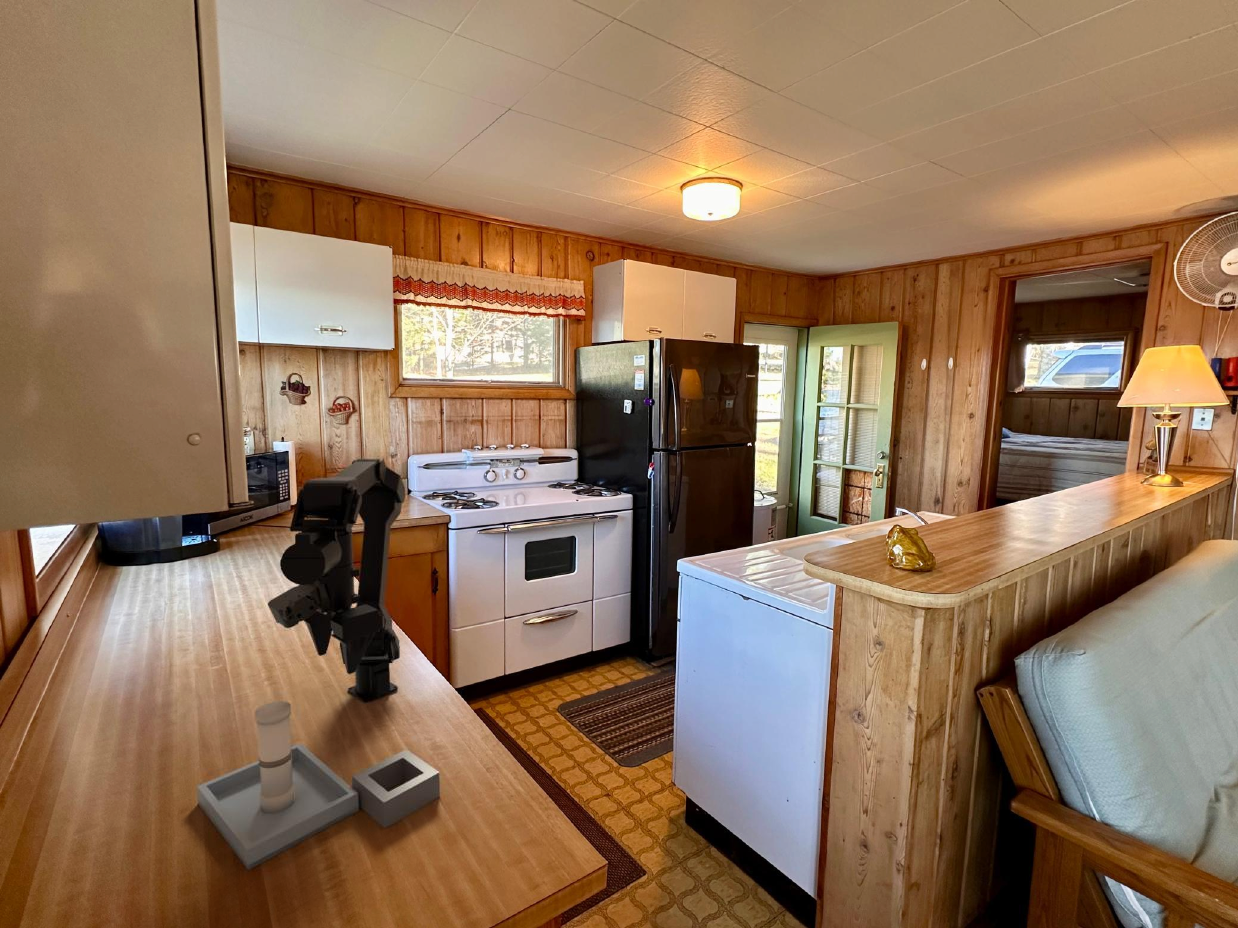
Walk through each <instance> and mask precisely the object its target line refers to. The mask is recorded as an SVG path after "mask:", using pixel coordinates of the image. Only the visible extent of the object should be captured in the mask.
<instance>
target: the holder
mask: <svg viewBox="0 0 1238 928" xmlns="http://www.w3.org/2000/svg"><path fill="white" fill-rule="evenodd" d="M440 779H441V778H440V771H438V770H437V769H436V768H434V767H433V766H431V765H430V764H428V763H427V762H425V761H424V760H423V759H421V758H420V757H419V756H417V755H415V754H414V753H412V752H411V751H410V750H409V749H405V750H402V751H400V752H397V754H394V755H392V756H390V757H388V758H386V759H383V760H381V761H380V762H378V763H376V764H374V765H371V766H369V767H368V768H366V769H364V770H361V771H359V772H357V773H355V774H353V775H351V785H352V786H351V787H352V788H353V789H354V790H355V791H356V792H358V805H359V808H361V809H362V810H363V811H364V812H366V814H368V815H369V816H370V817H371V818H372V819H373V820H374V821H375V822H377V823H378V824H379V825H380V826H381V827H382V828H383V829H386V828H388V827H390V826H392V825H393V824H395V823H397V822H399V821H401V820H402V819H404V818H406V817H407V816H408V815H411V814H413V813H414V812H415V811H417V810H419V809H421V808H423V807H424V806H426V805H427V804H429V803H431V802H432V801H434V800H436V799H437V798H439V797H441V793H440V791H441V788H440V786H441V785H440V781H441V780H440ZM402 782H404V783H403V784H401V783H402ZM398 784H401V785H399V786H397V785H398ZM395 786H397V787H396V788H394V789H391V788H393V787H395ZM390 789H391V790H390ZM387 790H390V791H387Z"/></svg>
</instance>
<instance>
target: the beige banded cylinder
mask: <svg viewBox="0 0 1238 928" xmlns="http://www.w3.org/2000/svg"><path fill="white" fill-rule="evenodd" d="M291 714H292V705H291V703H290V702H289V701H284V700H280V701H279V700H278V701H272V702H268V703H265V704H263V705H261V706H259V707H257V708H256V710H255V712H254V722H255V723H256V724H257V742H258V746H257V747H258V760H259V765H260V782H261V790H260V793H259V796H260V810H261V811H262V812H263V813H267V814H272V813H278V812H281V811H283V810H285V809H287V808H289V807H290V806H291V805H292V804H293V803H294V801H295V784H294V782H293V778H292V749H291V747H292V739H291V720H290V719H291V718H290V716H291Z"/></svg>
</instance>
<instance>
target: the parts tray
mask: <svg viewBox="0 0 1238 928" xmlns="http://www.w3.org/2000/svg"><path fill="white" fill-rule="evenodd" d="M291 749H292V778H293V782H294V784H295V801H294V803H293V804H292V805H291V806H290V807H289V808H287V809H285V810H283V811H281V812H278V813H272V814H267V813H263V812H262V811H261V810H260V796H259V793H260V790H261V782H260V765H259V759H258V760H256V761H254V762H252V763H249V764H247V765H244V766H242V767H240V768H237V769H235V770H232V771H230V772H228V773H226V774H222V775H221V776H218V777H216V778H212V779H211V780H209V781H206V782H204V783H202V784H201V783H200V784H199V785H197V786H196V789H197V790H196V792H197V804H198V806H199V807H200V808H201V810H202V811H203V812H204V813H205V815H206V816H207V818H208V819H209V820H210V822H211V823H212V824H213V826H214V827H215V828H216V829H217V831H218V832H219V834H220V835H221V836H222V838H224V840H225V841H226V843H227V844H228V845H229V847H230V848H231V849H232V851H234V853H235V855H236V856H237V857H238V858H239V860H240V861H241V862H242V864H243V865H244V866H245V868H246V869H247V870H248V871H250V870H252V869H253V868H255V867H257V866H259V865H260V864H263V863H264V862H266V861H269V860H270V859H271V858H273V857H275V856H278V855H279V854H282V853H283V852H285V851H287V850H289V849H291V848H292V847H294V846H296V845H298V844H299V843H302V842H304V841H305V840H307V839H309V838H311V837H313V836H315V835H316V834H318V833H320V832H322V831H324V830H326V829H327V828H330V827H332V826H333V825H335V824H337V823H339V822H341V821H342V820H345V819H346V818H348V817H350V816H352V815H354V814H355V813H358V812H359V810H360V809H359V808H360V806H359V805H358V792H356V791H355V790H354V789H353V788H352V786H351V785H349V784H348V783H347V782H346V781H345V780H344V779H343V778H342V777H341V776H339V775H338V774H337V773H336V772H335V771H333V770H332V768H330V767H329V766H328V765H326V764H325V763H324V762H323V761H322V760H321V759H319V758H318V757H317V756H316V755H315V754H314V753H313V752H311V751H310V750H309V749H308V748H307V747H305V745H303V744H302V743H301V742H298V743H297V744H294V745H291Z"/></svg>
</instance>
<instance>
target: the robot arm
mask: <svg viewBox="0 0 1238 928" xmlns="http://www.w3.org/2000/svg"><path fill="white" fill-rule="evenodd" d="M298 491H299V492H298V494H297V499H296V502H295V506H294V511H293V515H292V519H291V522H290V527H289V531H290V532H292V533H293V532H294V533H295V532H298V533H295V535H294V543H293V544H291V545H290V546H288V547H287V548H286V549H285V550H284V551H283V553H282V555H281V559H280V561H279V566H280V570H281V573H282V574H283V576H284V577H285V578H286V580H288V581H289V582H291V583H293V584H296V586H294V587H291V588H290V589H288V590H286V591H284V592H283V593H281V594H279V595H278V596H276V597H274V598H271V600H269V601H268V602H267V606H268V608H269V610H270V612H271V615H272V616H273V618H274V620H275V622H276V623H277V624H280V625H282V626H283V628H285V629H291V628H293V627H295V626H297V625H298V624H299V623H300V622H301V623H302V622H304V623H305V625H306V627H307V630H308V631H309V634H310V637H311V640H312V643H313V645H314V647H315V651H316V653H317V655H318V656H319V657H321V656H325V655H326V654H327V652H328V649H329V645H330V641H331V637H332V638H333V639H336V640H337V641H338V642H339V649H340V653H341V658H342V663H343V665H344V666H345V669H346V673H347V674H348V675H351V674H353V673H354V674H355V675H354V677H355V678H354V679H355V681H354V682H355V685H353V686H350V687H348V688H347V692H348V694H349V693H350V694H351V695H352V696H354V697H355V698H357V699H358V700H360V701H361V702H363V703H368V702H371V701H374V700H375V699H376V700H377V699H378V698H381V697H383V696H385V695H389V694H390V693H394V692H395V691H398V689H399V686H397V685H396V684H394V683H392V682H391V671H390V670H391V669H390V664H393V662H394V661H396V660H398V659H400V657H401V653H400V652H401V651H400V650H401V649H400V647H401V646H400V640H399V637H398V635H397V634H396V632H395V630H394V629H393V618H392V617H391V616H390V613H389V612H388V610H387V608H386V606H385V600H386V586H387V576H388V575H387V574H388V566H389V565H388V561H389V553H390V551H389V550H390V539H391V527H392V525H393V524H394V523H395V522H396V520H397V519H398V517H399V516H400V515H401V513H402V506H403V505H402V504H404V502H405V500H406V488H405V485H404V482H403V479H402V477H401V475H400V474H399V473H397V472H395V471H393V470H392V469H391V468H390V467H388V466H387V465H386V462H385V461H384V460H381V459H380V458H357V459H356V460H355V459H354V460H352V463H351V464H350V465H348V466H347V467H346V468H344V469H343V470H341V471H339V472H338V473H337V474H335V475H334V476H331V477H319V478H318V477H317V478H312V479H308V480H307V481H305V482H304V484H302V487H301V488H300V489H299V490H298ZM358 517H360V519H361V520H362V522H363V533H362V534H363V535H362V544H361V556H360V565H359V568H358V567H355V566H354V547H353V529H352V528H353V527H354V525H356V524H357V521H358ZM355 577H359V578H358V587H357V593H355ZM354 604H356V606H355V607H353V606H352V605H354Z"/></svg>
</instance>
